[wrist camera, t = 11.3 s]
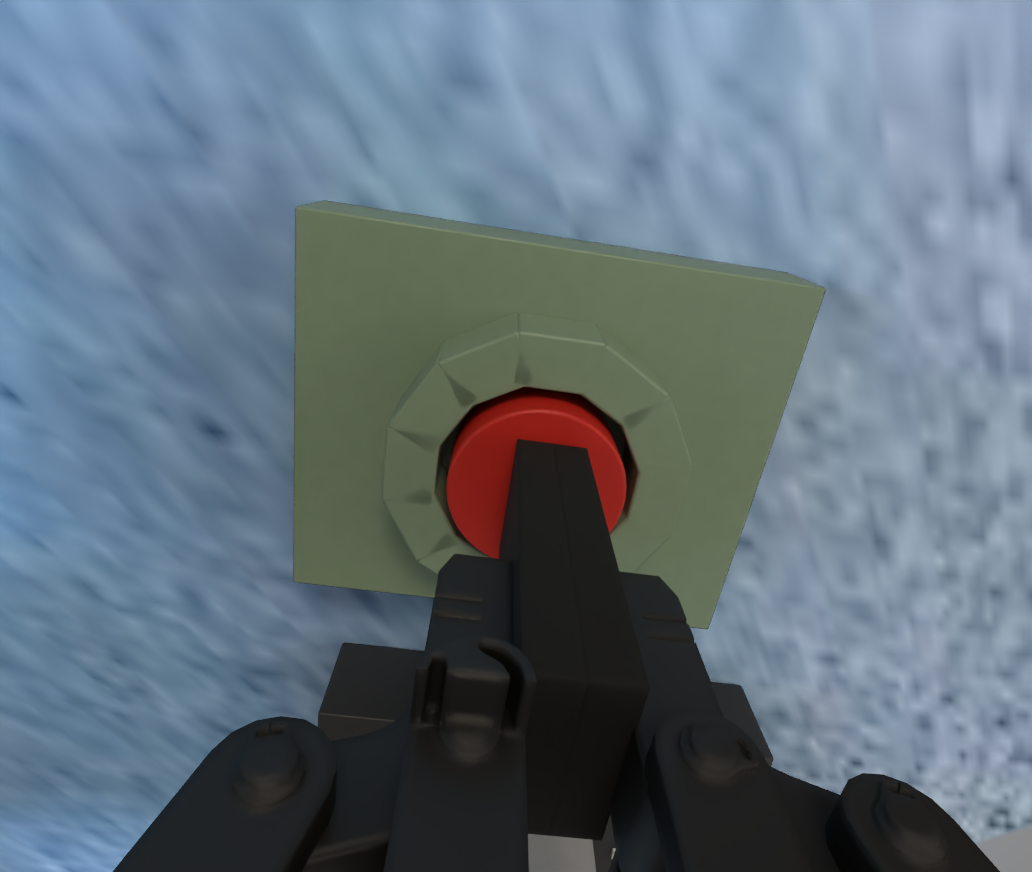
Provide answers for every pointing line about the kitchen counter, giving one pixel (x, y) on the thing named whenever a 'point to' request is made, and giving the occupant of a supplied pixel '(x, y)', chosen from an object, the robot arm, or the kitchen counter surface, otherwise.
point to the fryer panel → (389, 691)
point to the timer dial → (560, 854)
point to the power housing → (527, 363)
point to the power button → (491, 450)
